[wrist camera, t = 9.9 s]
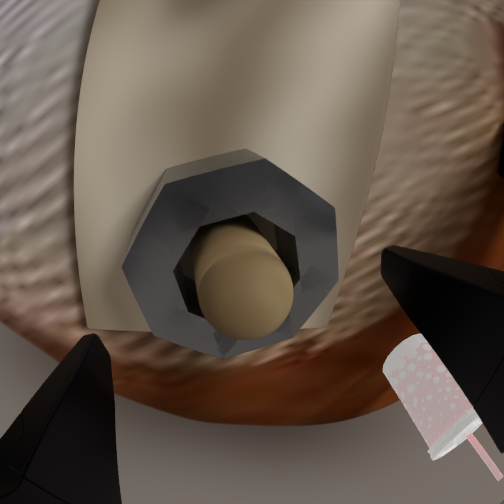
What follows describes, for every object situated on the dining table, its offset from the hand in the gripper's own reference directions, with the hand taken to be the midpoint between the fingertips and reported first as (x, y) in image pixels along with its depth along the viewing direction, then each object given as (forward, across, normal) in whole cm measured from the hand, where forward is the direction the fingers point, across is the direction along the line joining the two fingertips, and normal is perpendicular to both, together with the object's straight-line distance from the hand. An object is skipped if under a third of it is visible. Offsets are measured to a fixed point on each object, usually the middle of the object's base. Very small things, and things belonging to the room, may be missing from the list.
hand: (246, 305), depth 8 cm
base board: (+5, -2, -6) cm, 8 cm away
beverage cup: (+5, -12, +14) cm, 19 cm away
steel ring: (+4, 0, 0) cm, 4 cm away
